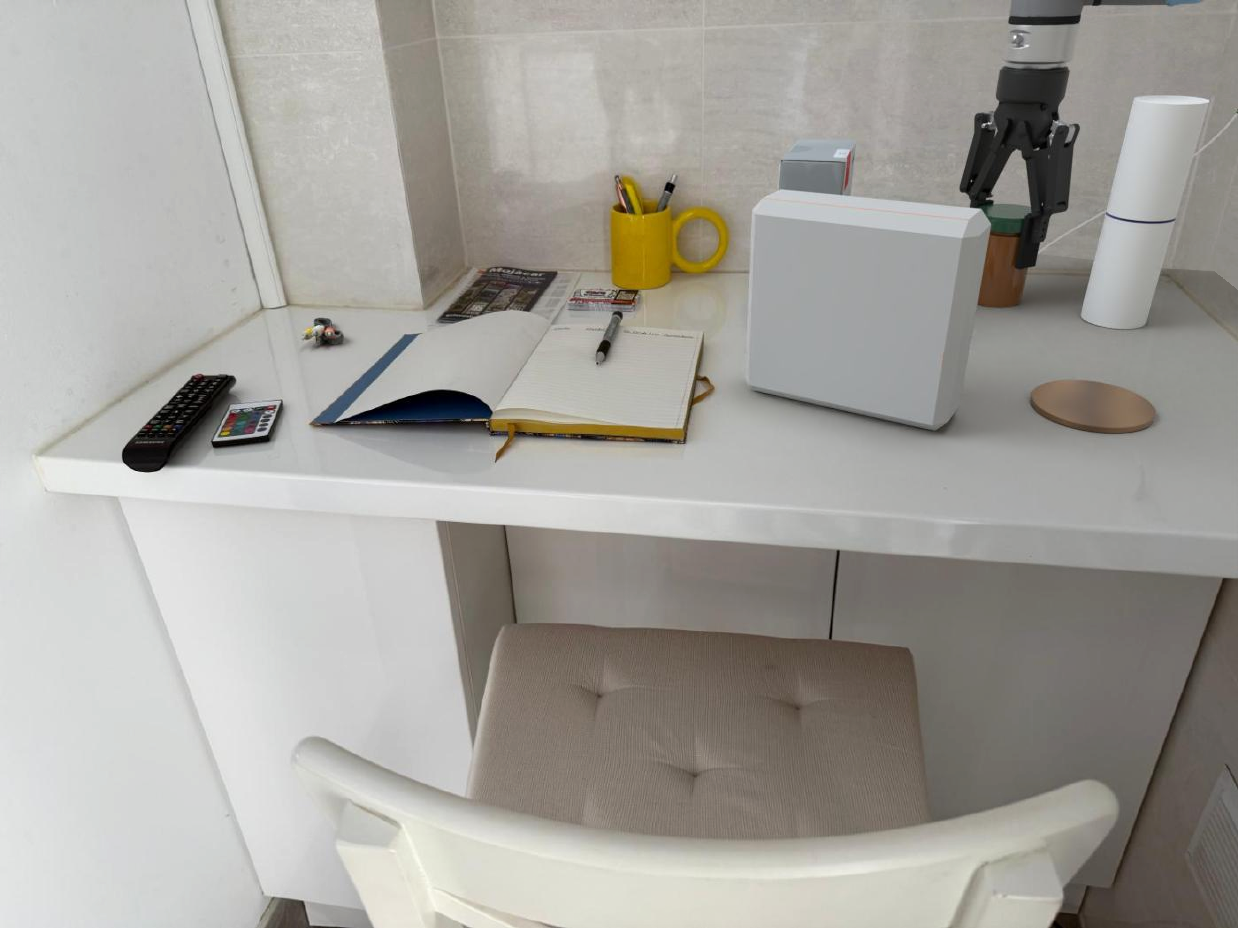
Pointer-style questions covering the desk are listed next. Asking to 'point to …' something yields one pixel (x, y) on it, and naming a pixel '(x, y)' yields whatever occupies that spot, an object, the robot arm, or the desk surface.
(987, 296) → the brown lidded jar
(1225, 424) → the desk surface
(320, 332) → the composite cable
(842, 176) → the hard drive box
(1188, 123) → the cylindrical container
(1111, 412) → the coaster
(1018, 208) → the jar lid
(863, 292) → the bevelled white case
